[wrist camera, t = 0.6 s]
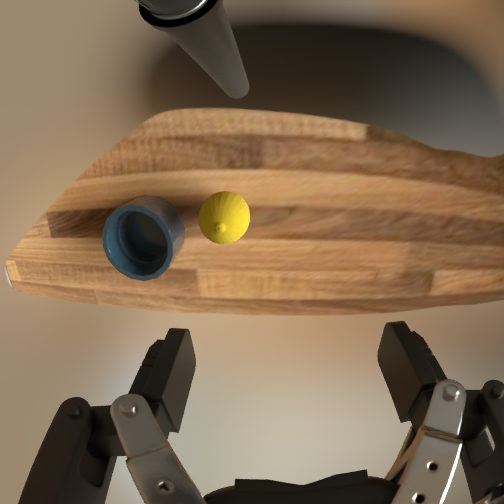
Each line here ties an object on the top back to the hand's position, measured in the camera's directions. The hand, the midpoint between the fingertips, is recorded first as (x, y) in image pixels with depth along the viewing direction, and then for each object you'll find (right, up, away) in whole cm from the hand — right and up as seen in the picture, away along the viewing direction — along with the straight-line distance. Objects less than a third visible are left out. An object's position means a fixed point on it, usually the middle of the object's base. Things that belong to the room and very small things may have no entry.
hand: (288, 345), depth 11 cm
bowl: (-15, +7, +25) cm, 30 cm away
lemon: (-4, +9, +24) cm, 26 cm away
